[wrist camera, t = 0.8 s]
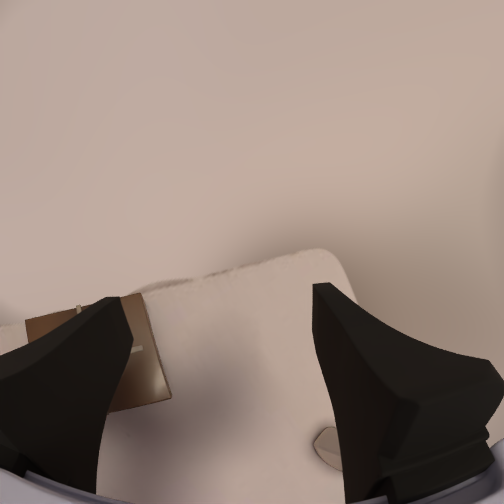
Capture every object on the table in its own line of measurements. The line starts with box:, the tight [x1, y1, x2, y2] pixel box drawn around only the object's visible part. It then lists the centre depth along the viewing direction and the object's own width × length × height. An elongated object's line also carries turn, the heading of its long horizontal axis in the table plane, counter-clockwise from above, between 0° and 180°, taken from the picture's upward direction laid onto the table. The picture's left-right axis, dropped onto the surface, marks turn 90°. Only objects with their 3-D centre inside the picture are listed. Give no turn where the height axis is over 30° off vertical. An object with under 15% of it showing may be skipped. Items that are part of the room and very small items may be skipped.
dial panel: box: [25, 293, 172, 415], centre depth 20 cm, size 10×8×3 cm
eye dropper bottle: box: [314, 427, 342, 471], centre depth 17 cm, size 4×6×12 cm
